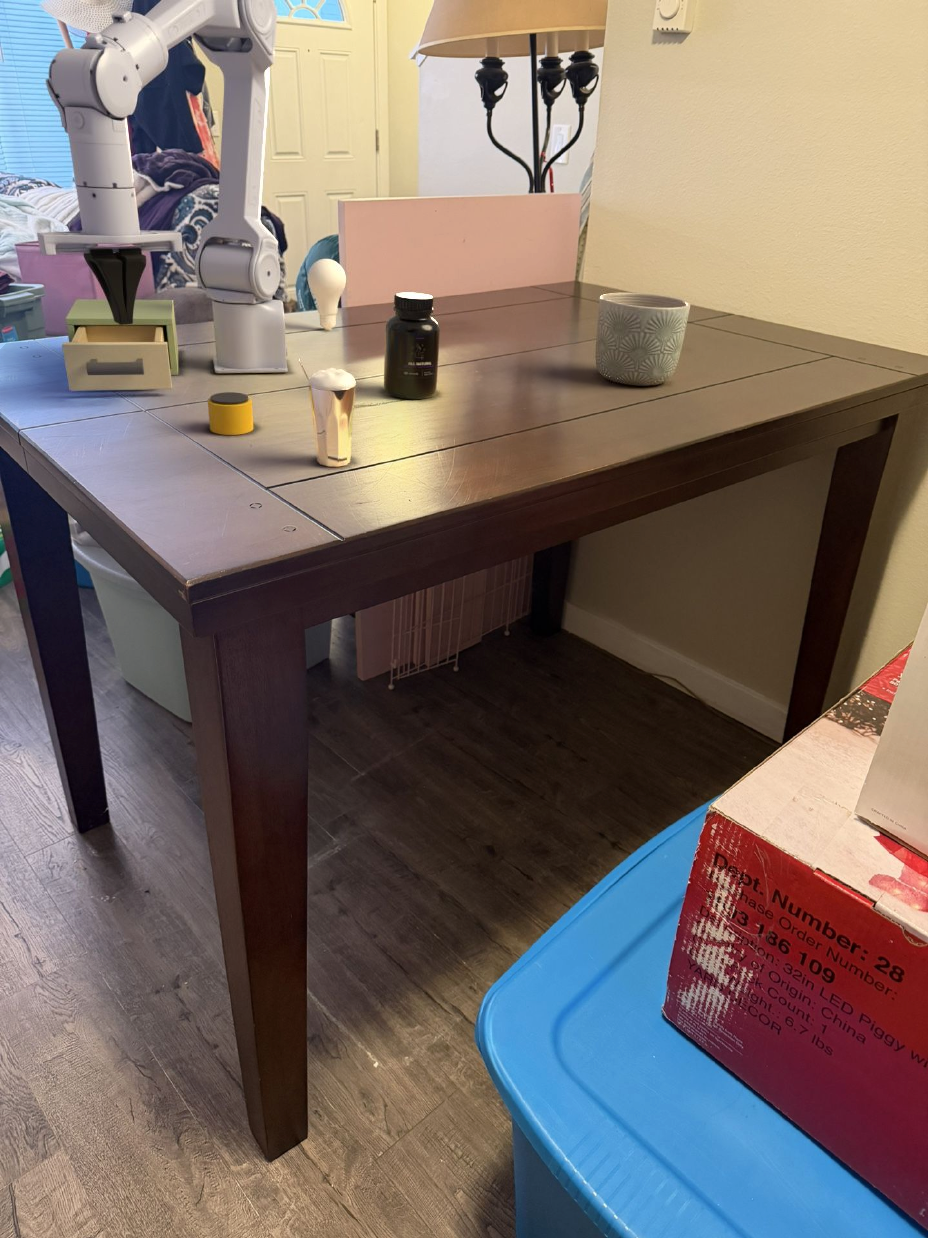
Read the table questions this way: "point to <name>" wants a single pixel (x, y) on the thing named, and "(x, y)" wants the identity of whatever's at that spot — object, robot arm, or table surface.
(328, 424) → the milkshake
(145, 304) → the cabinet
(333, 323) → the lightbulb
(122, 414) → the table surface
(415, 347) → the supplement bottle
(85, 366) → the drawer
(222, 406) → the cap
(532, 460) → the table surface
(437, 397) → the table surface
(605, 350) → the planter
